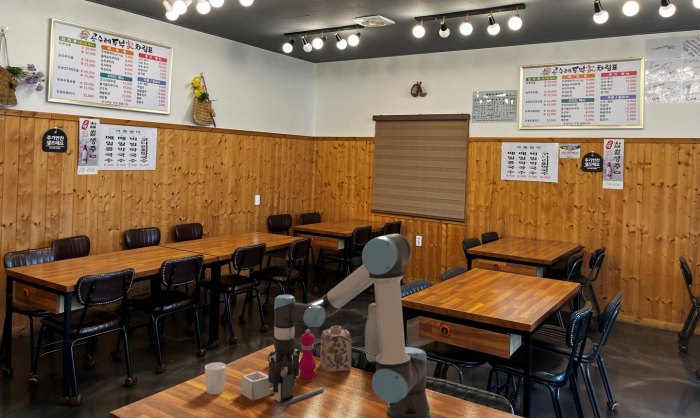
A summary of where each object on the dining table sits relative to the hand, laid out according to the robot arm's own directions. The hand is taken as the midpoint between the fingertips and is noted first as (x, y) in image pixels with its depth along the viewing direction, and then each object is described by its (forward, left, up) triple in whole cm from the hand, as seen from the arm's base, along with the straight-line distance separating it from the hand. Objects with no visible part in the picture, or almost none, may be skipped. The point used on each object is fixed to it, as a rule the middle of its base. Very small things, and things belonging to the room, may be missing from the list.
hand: (283, 397), depth 196 cm
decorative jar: (+12, -37, -1) cm, 39 cm away
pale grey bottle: (+2, -52, -1) cm, 52 cm away
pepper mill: (+12, -21, -1) cm, 24 cm away
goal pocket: (+11, +5, -1) cm, 12 cm away
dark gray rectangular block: (+5, 0, -1) cm, 5 cm away
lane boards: (+11, -4, -1) cm, 12 cm away
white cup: (+24, +15, -1) cm, 28 cm away
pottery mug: (+28, -19, -1) cm, 34 cm away
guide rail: (-4, -6, -1) cm, 7 cm away
